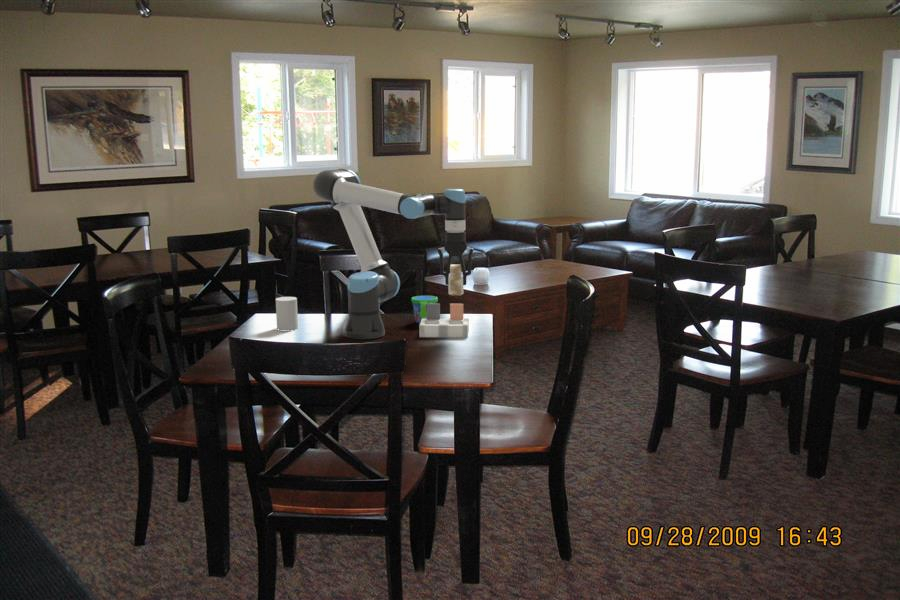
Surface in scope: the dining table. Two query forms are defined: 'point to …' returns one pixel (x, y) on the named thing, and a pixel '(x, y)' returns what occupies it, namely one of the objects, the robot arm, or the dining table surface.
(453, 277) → the cream tall block
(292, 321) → the white cylinder
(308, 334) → the dining table surface
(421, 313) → the snack cup
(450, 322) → the socket block
